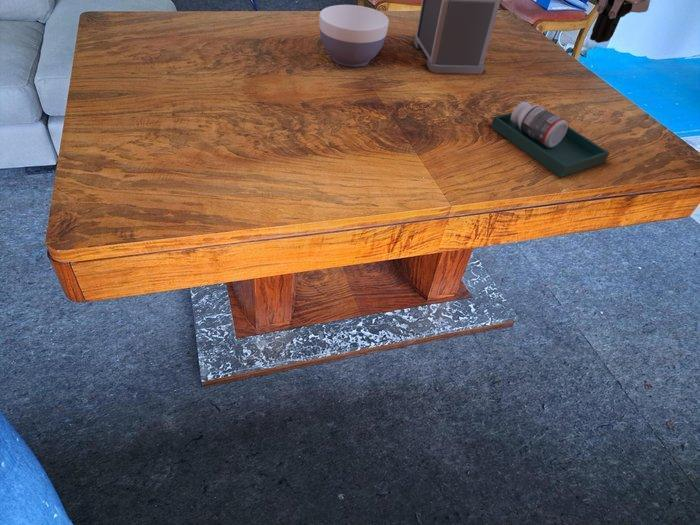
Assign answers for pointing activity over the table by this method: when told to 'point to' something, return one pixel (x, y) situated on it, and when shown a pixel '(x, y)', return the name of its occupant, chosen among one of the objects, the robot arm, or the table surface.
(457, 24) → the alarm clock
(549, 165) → the tray
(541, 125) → the pill bottle
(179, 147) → the table surface
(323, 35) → the bowl
